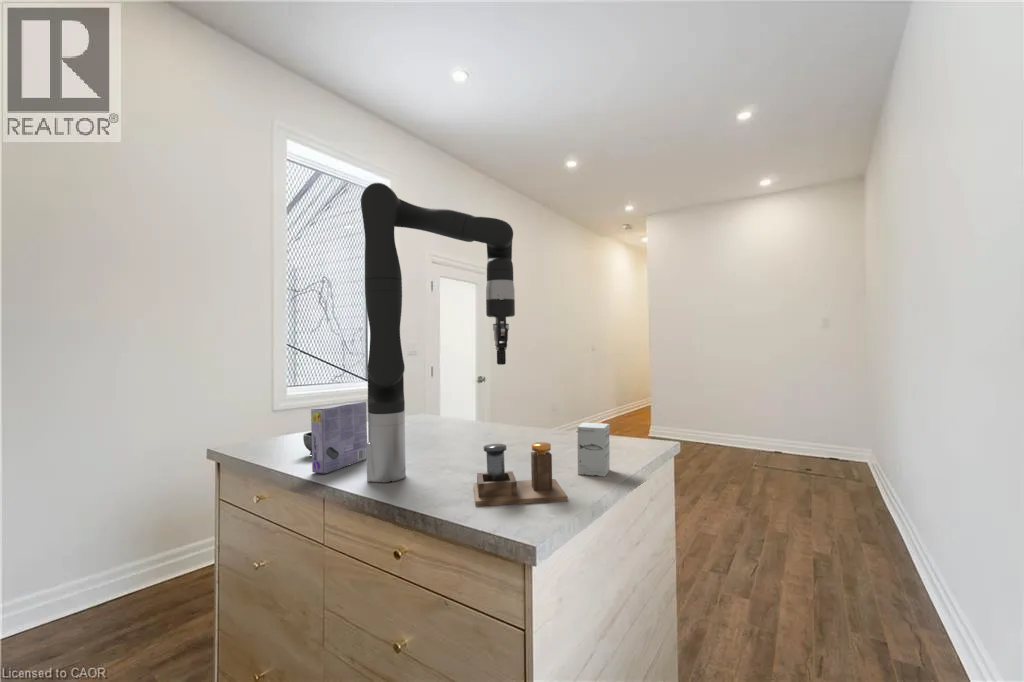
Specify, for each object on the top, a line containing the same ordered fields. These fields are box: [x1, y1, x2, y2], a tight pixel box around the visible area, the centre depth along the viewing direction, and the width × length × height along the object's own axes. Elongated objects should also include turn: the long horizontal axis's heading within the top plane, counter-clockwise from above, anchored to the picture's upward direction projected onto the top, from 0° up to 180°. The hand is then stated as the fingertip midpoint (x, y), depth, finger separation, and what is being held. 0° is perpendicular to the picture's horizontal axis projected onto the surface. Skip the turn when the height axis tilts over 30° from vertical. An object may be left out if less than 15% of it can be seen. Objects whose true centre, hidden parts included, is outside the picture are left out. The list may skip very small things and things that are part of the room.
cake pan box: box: [310, 401, 368, 475], centre depth 133 cm, size 19×5×18 cm, turn 159°
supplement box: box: [577, 422, 611, 477], centre depth 122 cm, size 7×7×13 cm
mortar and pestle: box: [303, 431, 312, 456], centre depth 147 cm, size 11×9×12 cm
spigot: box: [483, 443, 507, 482], centre depth 105 cm, size 5×5×10 cm
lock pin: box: [531, 441, 552, 455], centre depth 106 cm, size 4×4×10 cm
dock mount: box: [473, 451, 569, 507], centre depth 106 cm, size 20×13×9 cm, turn 96°
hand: (501, 364), depth 121 cm, fingers closed
